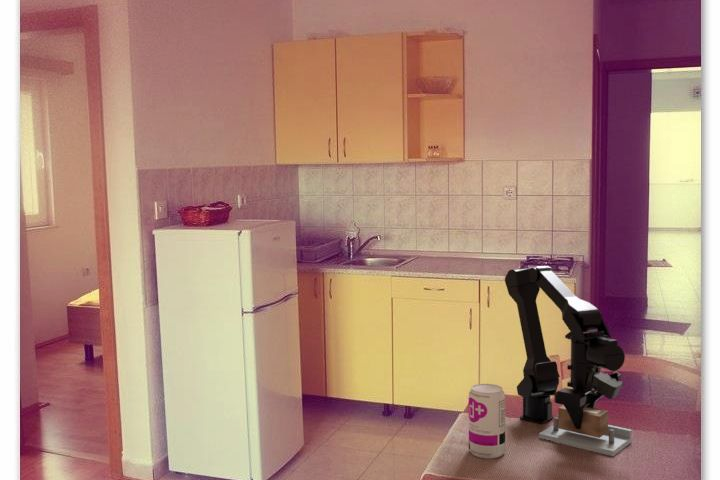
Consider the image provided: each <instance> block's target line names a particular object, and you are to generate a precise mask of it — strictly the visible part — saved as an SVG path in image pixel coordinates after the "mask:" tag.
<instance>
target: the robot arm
mask: <svg viewBox="0 0 720 480" xmlns="http://www.w3.org/2000/svg"><path fill="white" fill-rule="evenodd" d="M504 276H505V277H504V282H505V285H506V286H505V287H506V289H507V292H508V295H509V297H511V299H512V300H513V301H514V302H515V304H516V308H517V311H518V317H519V323H520V328H521V333H522V338H523V344H524V348H525V354H526V361H525V364H524V366H523V369H522V372H523V378H522V379H521V381H520V382H519V383H518V384H517V386H516V391H517V395H518V396H520V397H522V415H520V416H519V419H520V420H524V421H528V420H529V422H532V421H534V422H533V423H537V422H539V423H538V424H545V423H546V422H548V421H549V420H551V419H553V418H554V415H553V402H554V403H555V404H557V405H558V404H559V405H562V406H563V405H564V406H565V408H566V410H567V412H568V414H569V416H570V418H571V420H572V422H573V424H574V426H575V428H576V429H581V424H582V417H583V411H584V408H585V407H591V408H596V405H597V403H598V401H599V400H600V399H601V398H603V396H604V397H605V398H607V399H609V400H612V399H614V398H616V397H617V396H618V395H619V393H620V390H621V388H623V387H624V385H623V384H624V383H623V380H622V374H621V373H619V372H618V371H619V369H621V368H622V366H623V365H624V364H625V363H624V362H625V357H626V355H625V353H624V350H623V348H621V347H620V346H619V345H618V344H619V343H618V339H615V338H614V339H613V338H611V337H612V336H611V333H610V332H609V331H610V330H609V328H608V326H607V325H606V323H605V321H604V319H603V315H602V313H601V311H600V310H599V309H598V308H597V307H596V306H594V304H592V303H590V302H589V301H586V300H584V299H581V298H579V297H578V296H576V295H575V294H574V293H573V292H572V291H571V289H570V288H569V287H568V286H567V285H566V284H565V283H564V282H563V281H562V280H561V279H560V278H559V277H558V275H556V274H555V273H554V269H552V267H551V266H548V265H541V266H540V265H539V266H537V265H536V266H532V267H527V268H525V267H524V268H515V269H509V270H508V272H507V273H506V275H504ZM540 289H541V290H542V291H543V293H544V294H545V295H546V296H547V297H548V298H549V299H550V300H551V301H552V303H554V305H555V306H556V307H557V308H558V309H559V310H560V312H561V317H562V318H561V319H562V321H563V322H564V324H565V325H566V327H567V329H568V330H569V332H568V333H566V334H565V336H564V338H565V339H568V340H570V364H567V370H568V371H569V370H570V380H569V381H567V383H566V384H567V386H566V387H563V388H561V389H558V386H559V384H560V374H559V370H558V363H557V361H555V360H553V361H552V360H551V359H550V358H549V357H548V354H547V350H546V345H545V339H544V336H543V331H542V329H543V328H542V325H541V320H540V316H539V311H538V305H537V298H538V295H539V293H540ZM601 368H602V369H605V370H607V371H611V372H612V373H611V374H609V373H604V372H602V369H601ZM567 387H568V388H567ZM569 387H570V388H569ZM557 389H558V390H557ZM551 396H553V402H552V401H551ZM544 422H545V423H544Z"/></svg>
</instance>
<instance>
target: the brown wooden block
mask: <svg viewBox="0 0 720 480" xmlns="http://www.w3.org/2000/svg"><path fill="white" fill-rule="evenodd" d="M557 418H558V428H559V429H563V430H567V431H572V432H576V433H580V434H584V435H589V436H593V437H597V438H600V437H602V436H603V435H604V434H606V433H607V432H608V425H609V411H608V410H605V409H601V408H596V407H595V408H591V407H585V408H584V411H583V417H582V424H581V429H576V428H575V426H574V424H573V422H572V420H571V418H570V416H569V414H568V412H567V410H566V408H565V406H564V405H563V404H562V405H561V406H559V407H558V414H557Z"/></svg>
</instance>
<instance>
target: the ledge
mask: <svg viewBox="0 0 720 480" xmlns="http://www.w3.org/2000/svg"><path fill="white" fill-rule="evenodd" d="M552 419H553V423H552V425H550V426H548V427H547V428H546V429H543V430H542V431H541V432H539V433H538V439H540V438H543V439H542V440H544V439H546V440H545V441H548V440H551V441H550V442H552V441H554V442H553V443H556V442H557V444H560V443H561V444H560V445H564V446H569V447H573V448H578V449H581V450H586V451H590V452H592V453H593V452H594V453H598V454H603V455H606V456H610V457H614V456H616V455H617V454H619V453H620V452H621V451H622V450H624V449H625V448H626V447H628V445H630V444H631V443H632V435H633V434H632V433H633V432H632V429H630V428H625V427H621V426H615V425H611V424H608V432H607V433H606V434H604V435H603V436H602V437H600V438H597V437H593V436H589V435H584V434H580V433H576V432H572V431H567V430H563V429H559V428H558V416H553V418H552Z"/></svg>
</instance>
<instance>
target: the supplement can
mask: <svg viewBox="0 0 720 480" xmlns="http://www.w3.org/2000/svg"><path fill="white" fill-rule="evenodd" d="M470 387H471V389H470V391H469V392H468V450H469V452H470V453H471V454H472V456H474V457H477V458H480V459H490V460H491V459H492V460H493V459H497V458H501V457H502V456H503V455H504V454H505V453H506V393H505V391H504V389H503V387H502V386H500V385H498V384H492V383H477V384H474V385H472V386H470Z"/></svg>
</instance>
